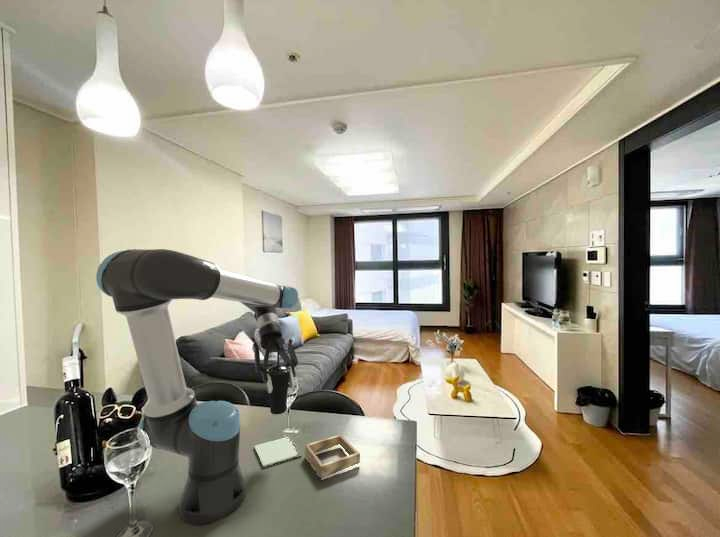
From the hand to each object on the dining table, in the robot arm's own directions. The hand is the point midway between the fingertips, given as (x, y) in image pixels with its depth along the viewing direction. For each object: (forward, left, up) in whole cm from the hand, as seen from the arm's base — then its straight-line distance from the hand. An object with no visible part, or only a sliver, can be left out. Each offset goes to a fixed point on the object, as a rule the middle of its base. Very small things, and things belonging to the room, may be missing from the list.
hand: (282, 388), depth 97 cm
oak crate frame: (+13, -10, -22) cm, 27 cm away
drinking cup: (0, +4, -9) cm, 9 cm away
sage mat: (0, +3, -22) cm, 22 cm away
